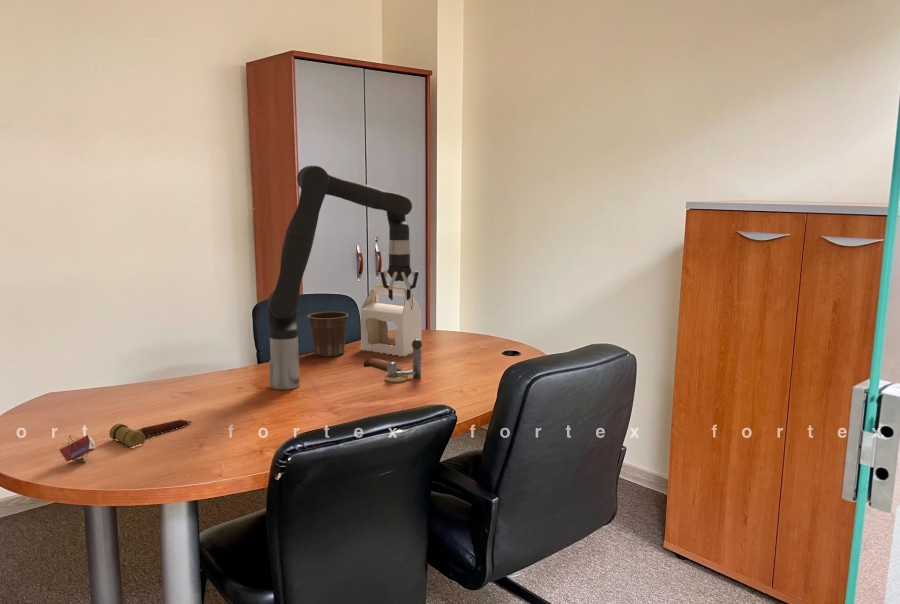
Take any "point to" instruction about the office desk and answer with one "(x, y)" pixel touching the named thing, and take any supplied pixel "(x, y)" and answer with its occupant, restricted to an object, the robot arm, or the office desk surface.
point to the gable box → (379, 313)
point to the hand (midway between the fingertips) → (399, 299)
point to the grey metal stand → (402, 376)
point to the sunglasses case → (378, 364)
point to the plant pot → (328, 332)
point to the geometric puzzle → (78, 448)
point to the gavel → (142, 432)
